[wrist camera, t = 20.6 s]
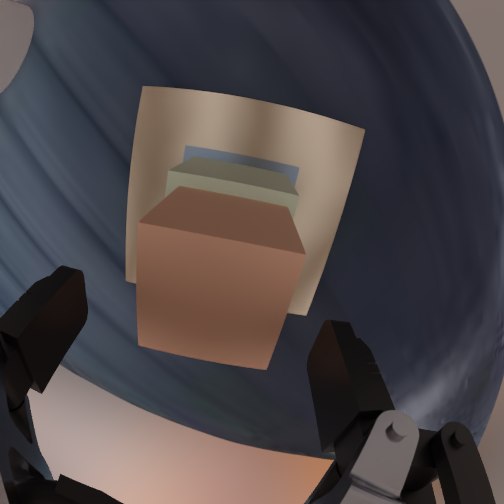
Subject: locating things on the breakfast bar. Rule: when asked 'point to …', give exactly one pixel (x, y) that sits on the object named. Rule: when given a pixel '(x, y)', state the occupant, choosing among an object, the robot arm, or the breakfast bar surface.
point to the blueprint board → (246, 162)
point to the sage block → (234, 181)
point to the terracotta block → (216, 276)
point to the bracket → (13, 38)
